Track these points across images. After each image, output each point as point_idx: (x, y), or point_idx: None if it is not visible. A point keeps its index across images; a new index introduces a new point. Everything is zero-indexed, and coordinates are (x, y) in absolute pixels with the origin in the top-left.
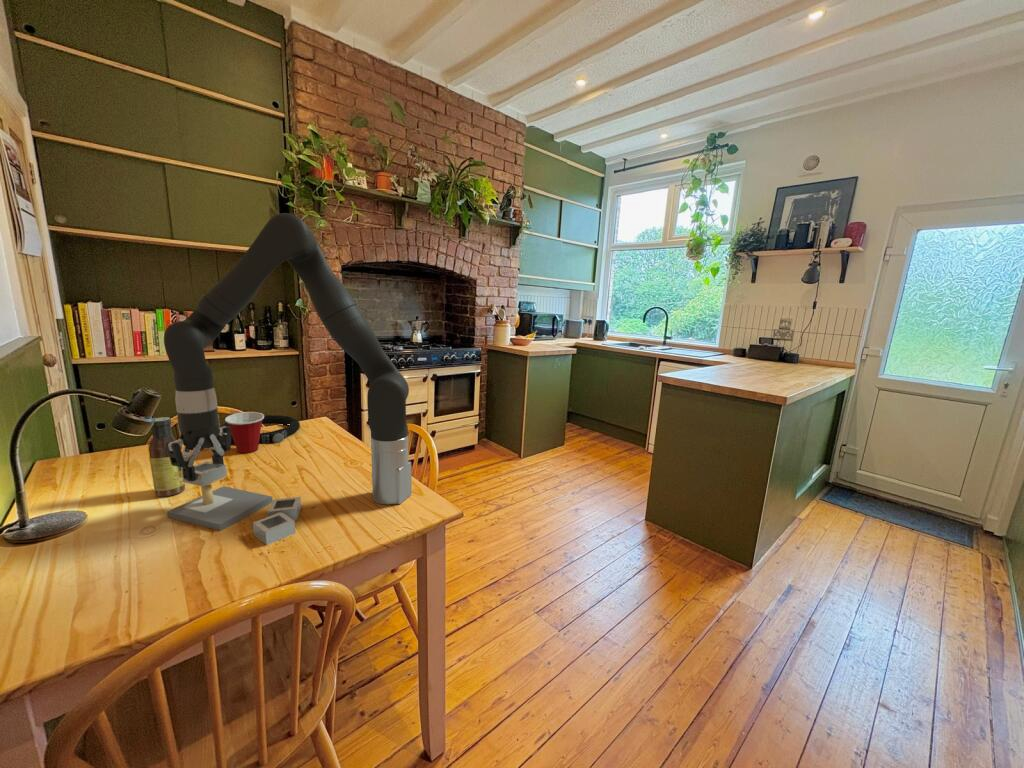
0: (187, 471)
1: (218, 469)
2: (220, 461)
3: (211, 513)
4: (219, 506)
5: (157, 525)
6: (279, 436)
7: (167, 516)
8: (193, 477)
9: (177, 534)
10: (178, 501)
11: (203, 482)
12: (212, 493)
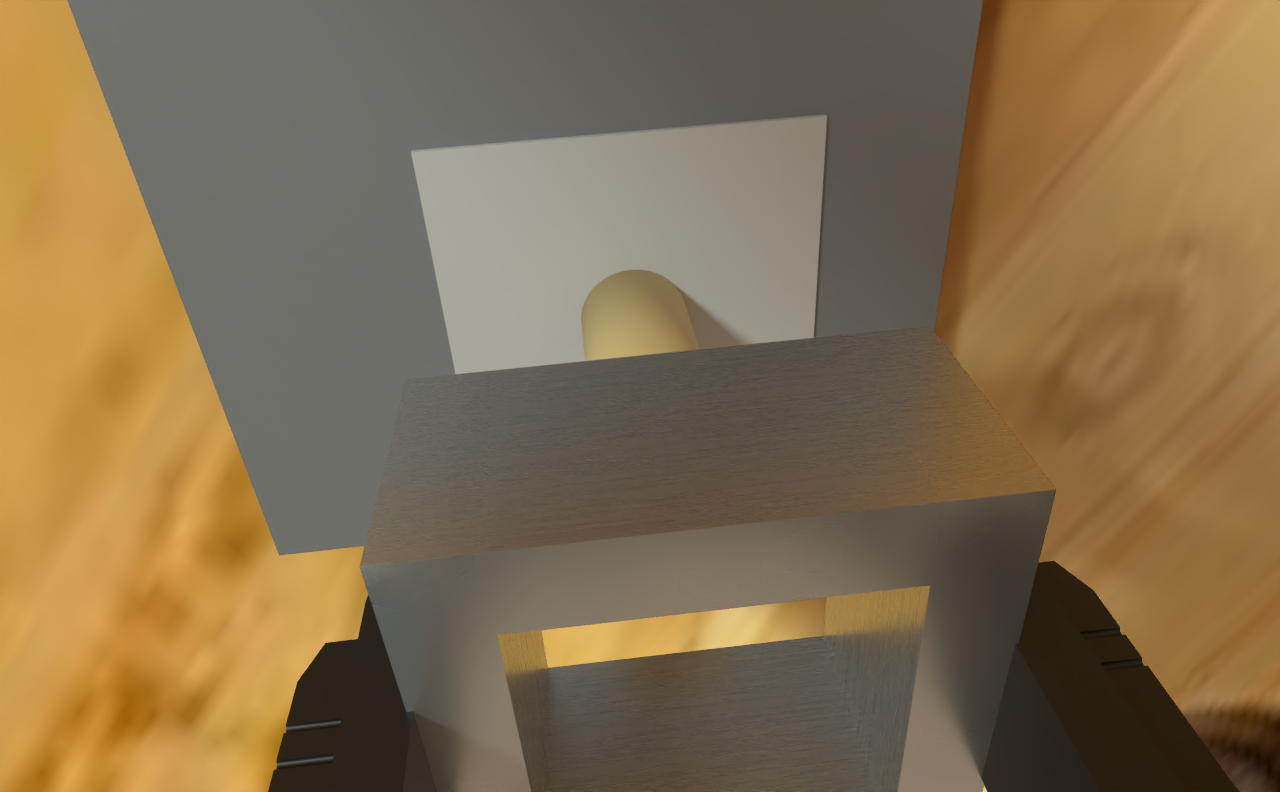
0: (1183, 722)
1: (586, 504)
2: (371, 758)
3: (813, 20)
4: (631, 118)
5: (1024, 382)
6: None
7: None
8: None
9: (1153, 36)
10: (643, 628)
11: (930, 367)
12: (599, 353)
